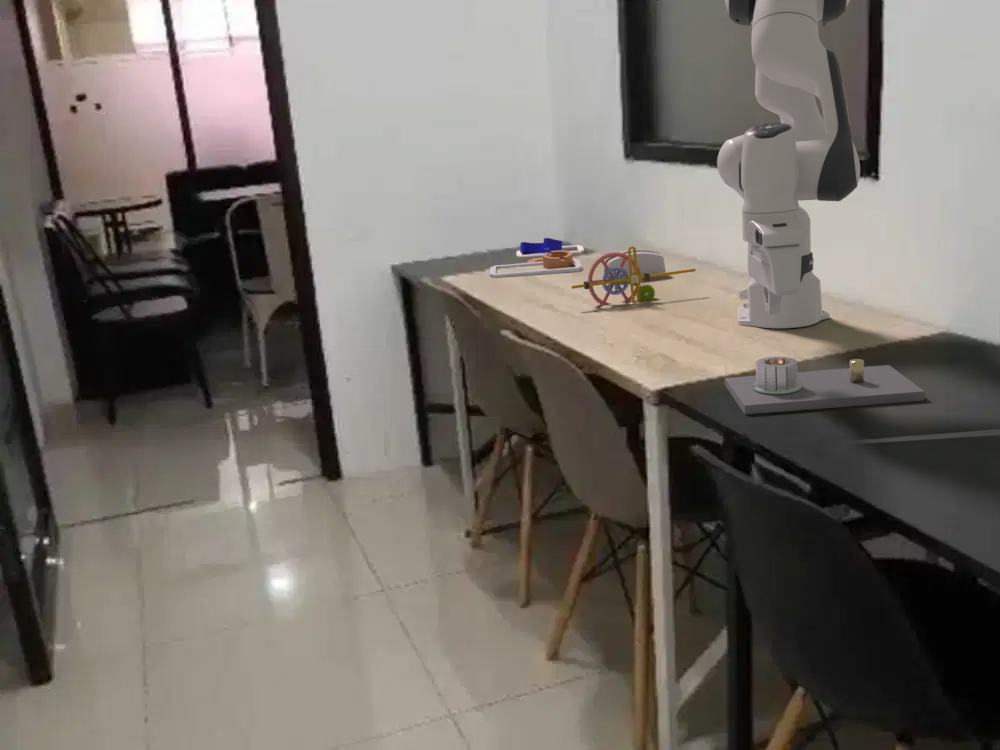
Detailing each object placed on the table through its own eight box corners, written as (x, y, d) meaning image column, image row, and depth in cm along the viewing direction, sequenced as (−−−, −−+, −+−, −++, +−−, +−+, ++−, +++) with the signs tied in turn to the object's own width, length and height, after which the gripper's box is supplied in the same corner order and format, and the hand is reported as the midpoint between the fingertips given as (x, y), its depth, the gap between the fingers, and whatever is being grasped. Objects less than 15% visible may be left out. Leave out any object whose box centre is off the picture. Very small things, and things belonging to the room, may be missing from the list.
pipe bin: (491, 279, 300) (490, 265, 299) (579, 272, 299) (578, 258, 298) (490, 289, 286) (489, 275, 284) (583, 282, 285) (582, 267, 284)
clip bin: (517, 263, 325) (516, 250, 323) (582, 257, 324) (581, 244, 323) (517, 269, 313) (516, 256, 312) (585, 264, 312) (584, 250, 311)
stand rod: (847, 380, 173) (847, 359, 172) (861, 379, 173) (861, 358, 172) (852, 383, 171) (852, 363, 170) (865, 382, 171) (865, 362, 170)
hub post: (747, 383, 176) (746, 360, 175) (795, 379, 176) (794, 356, 175) (758, 396, 169) (757, 373, 168) (808, 392, 168) (807, 369, 167)
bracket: (578, 278, 294) (577, 254, 291) (553, 284, 290) (551, 260, 288) (547, 264, 309) (545, 242, 306) (522, 270, 305) (520, 247, 303)
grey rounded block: (662, 281, 276) (661, 245, 272) (667, 286, 271) (667, 249, 268) (600, 289, 273) (599, 252, 270) (605, 294, 269) (604, 256, 265)
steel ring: (753, 381, 175) (752, 358, 174) (791, 378, 175) (791, 355, 174) (761, 392, 169) (761, 368, 168) (801, 389, 169) (801, 365, 168)
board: (724, 386, 181) (724, 378, 180) (888, 373, 180) (888, 365, 179) (744, 414, 165) (744, 405, 165) (924, 400, 164) (924, 391, 164)
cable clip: (534, 260, 322) (519, 257, 318) (535, 245, 322) (520, 242, 318) (561, 256, 312) (546, 252, 308) (562, 241, 313) (547, 237, 309)
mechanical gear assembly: (575, 318, 242) (570, 254, 238) (570, 315, 246) (565, 252, 242) (697, 302, 247) (695, 239, 243) (691, 299, 251) (688, 237, 247)
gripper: (737, 222, 178) (739, 302, 181) (766, 237, 158) (768, 327, 162) (774, 219, 178) (776, 299, 181) (808, 234, 158) (809, 323, 161)
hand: (772, 312), depth 171 cm, fingers closed
